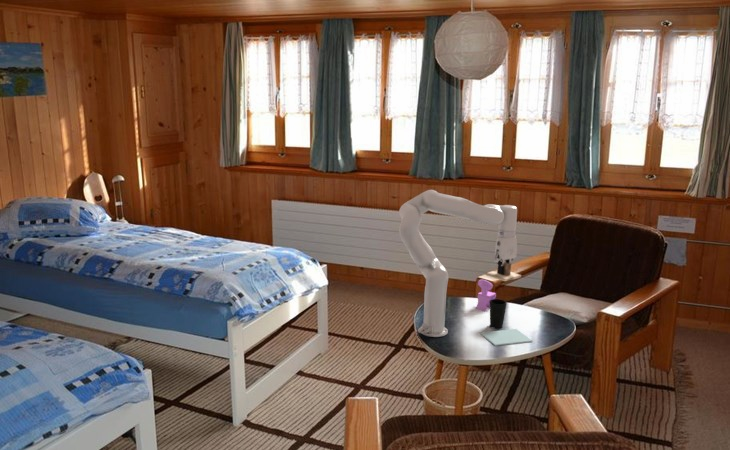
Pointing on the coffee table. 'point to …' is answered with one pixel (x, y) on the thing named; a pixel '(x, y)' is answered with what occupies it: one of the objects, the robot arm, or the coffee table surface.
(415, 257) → the robot arm
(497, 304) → the cup
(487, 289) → the toy chair
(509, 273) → the lid
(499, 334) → the mat
